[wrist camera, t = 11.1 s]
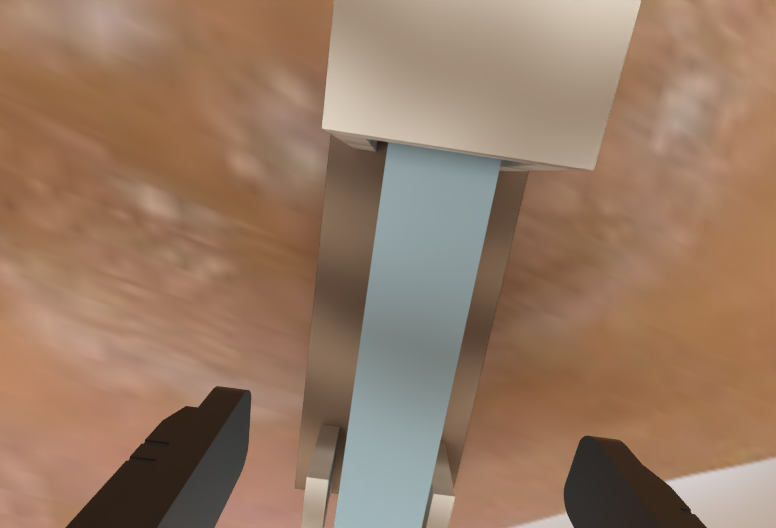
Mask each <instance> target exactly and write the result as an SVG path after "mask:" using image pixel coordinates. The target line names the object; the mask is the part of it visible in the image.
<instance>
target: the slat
mask: <svg viewBox="0 0 776 528" xmlns="http://www.w3.org/2000/svg"><path fill="white" fill-rule="evenodd" d="M501 161H502V159H496V158H489V157H483V156H476V155H470V154H463V153H457V152H450V151H444V150H437V149H431V148H424V147H418V146H411V145H405V144H398V143H392V142H388V147H387V154H386V162H385V169H384V176H383V183H382V190H381V197H380V204H379V211H378V218H377V225H376V233H375V240H374V247H373V254H372V261H371V268H370V275H369V282H368V289H367V296H366V304H365V311H364V318H363V325H362V332H361V339H360V346H359V353H358V360H357V367H356V375H355V382H354V389H353V396H352V403H351V410H350V417H349V424H348V431H347V438H346V446H345V453H344V460H343V467H342V474H341V481H340V488H339V495H338V502H337V509H336V516H335V524H334V528H422V523H423V519H424V514H425V510H426V505H427V500H428V496H429V491H430V487H431V482H432V478H433V473H434V468H435V464H436V459H437V455H438V450H439V445H440V441H441V436H442V432H443V427H444V422H445V418H446V413H447V409H448V404H449V399H450V395H451V390H452V386H453V381H454V376H455V372H456V367H457V363H458V358H459V353H460V349H461V344H462V340H463V335H464V330H465V326H466V321H467V317H468V312H469V308H470V303H471V298H472V294H473V289H474V285H475V280H476V275H477V271H478V266H479V262H480V257H481V252H482V248H483V243H484V239H485V234H486V229H487V225H488V220H489V216H490V211H491V206H492V202H493V197H494V193H495V188H496V183H497V179H498V174H499V170H500V165H501Z"/></svg>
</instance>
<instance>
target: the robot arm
mask: <svg viewBox="0 0 776 528" xmlns="http://www.w3.org/2000/svg"><path fill="white" fill-rule="evenodd" d="M250 410H251V392H250V391H249V390H242V389H235V388H227V387H220V386H217V387H215V388H214V389H213V390H212V391H211V392H210V394H209V395H208V396H207V397H206V398H205V400H204V401H203V402H202V403H201V405H200V406H199V407H198V408H197V407H189V406H186V407H184V408H182V409H181V410H179V411H177V412H176V413H174V414H173V415H171V416H169V417H168V418H166V419H164V420H163V421H162V422H161V423H160V424H159V425H158V426H157V427H156V428H155V430H154V431H153V432H152V433H151V434H150V435H149V436H148V437H147V438H146V439H145V443H144V444H141V445H140V446H139V447H138V448H137V449H136V450H135V452H134V453H133V454H132V455H131V456H130V459H129V461H126V462H125V463H124V464H123V465H122V466H121V467H120V468H119V469H118V470H117V471H116V473H115V474H114V475H113V476H112V477H111V478H110V479H109V480H108V481H107V482H106V484H105V485H104V486H103V487H102V488H101V489H100V490H99V491H98V492H97V494H96V495H95V496H94V497H93V498H92V499H91V500H90V501H89V502H88V503H87V505H86V506H85V507H84V508H83V509H82V510H81V511H80V512H79V513H78V514H77V516H76V517H75V518H74V519H73V520H72V521H71V522H70V523H69V524H68V526H67V527H66V528H214V527H215V525H216V523H217V521H218V519H219V517H220V515H221V513H222V511H223V509H224V507H225V505H226V503H227V501H228V499H229V497H230V495H231V493H232V491H233V488H234V486H235V484H236V482H237V480H238V478H239V476H240V474H241V472H242V469H243V466H244V463H245V460H246V456H247V451H248V444H249V427H250ZM564 503H565V508H566V511H567V514H568V517H569V519H570V521H571V523H572V525H573V526H574V528H707V527H706V526H705V525H704V524H703V523H702V522H701V521H700V520H699V518H698V517H697V516H696V515H695V514H692V513H691V510H690V508H689V507H688V506H687V505H686V504H685V503H684V501H682V499H681V498H680V497H679V496H678V495H677V494H676V492H675V491H674V490H673V489H672V488H671V487H670V486H669V485H668V484H666V483H665V482H664V481H663V480H661V479H660V478H659V477H658V476H656V475H655V474H654V473H652V472H651V471H650V470H649V469H647V468H646V467H645V466H643V465H642V464H641V462H640V461H639V460H638V459H637V458H636V457H635V455H634V454H633V453H632V452H631V451H630V450H629V448H628V447H627V446H626V445H625V444H624V443H623V442H621V441H620V440H616V439H608V438H600V437H593V436H584V437H583V438H582V439H581V440H580V442H579V445H578V448H577V451H576V454H575V457H574V460H573V463H572V466H571V469H570V472H569V475H568V477H567V480H566V483H565V487H564Z"/></svg>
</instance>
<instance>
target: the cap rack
mask: <svg viewBox="0 0 776 528" xmlns="http://www.w3.org/2000/svg"><path fill="white" fill-rule="evenodd" d="M640 4H641V0H334V7H333V17H332V28H331V38H330V49H329V59H328V70H327V80H326V91H325V101H324V112H323V122H322V129H323V130H325V131H327V132H328V133H330V134H331V136H330V146H329V156H328V165H327V175H326V185H325V195H324V205H323V215H322V224H321V234H320V244H319V254H318V264H317V274H316V284H315V293H314V303H313V313H312V323H311V333H310V343H309V352H308V362H307V372H306V382H305V392H304V402H303V411H302V421H301V431H300V441H299V451H298V461H297V471H296V480H295V488H296V489H303V490H305V496H304V505H303V514H302V523H301V528H324V526H325V520H326V515H327V510H328V505H329V500H330V495H331V493H334V494H339V488H340V481H341V474H342V467H343V460H344V453H345V446H346V438H347V431H348V424H349V417H350V410H351V403H352V396H353V389H354V382H355V375H356V367H357V360H358V353H359V346H360V339H361V332H362V325H363V318H364V311H365V304H366V296H367V289H368V282H369V275H370V268H371V261H372V254H373V247H374V240H375V233H376V225H377V218H378V211H379V204H380V197H381V190H382V183H383V176H384V169H385V162H386V154H387V147H388V142H392V143H398V144H405V145H411V146H418V147H424V148H431V149H437V150H444V151H450V152H457V153H463V154H470V155H476V156H483V157H489V158H496V159H502V161H501V165H500V170H499V174H498V179H497V183H496V188H495V193H494V197H493V202H492V206H491V211H490V216H489V220H488V225H487V229H486V234H485V239H484V243H483V248H482V252H481V257H480V262H479V266H478V271H477V275H476V280H475V285H474V289H473V294H472V298H471V303H470V308H469V312H468V317H467V321H466V326H465V330H464V335H463V340H462V344H461V349H460V353H459V358H458V363H457V367H456V372H455V376H454V381H453V386H452V390H451V395H450V399H449V404H448V409H447V413H446V418H445V422H444V427H443V432H442V436H441V441H440V445H439V450H438V455H437V459H436V464H435V468H434V473H433V478H432V482H431V487H430V491H429V496H428V500H427V505H426V510H425V514H424V519H423V523H422V528H448V525H449V521H450V517H451V512H452V508H453V504H454V500H455V493H454V485H455V481H456V477H457V473H458V468H459V464H460V460H461V456H462V452H463V447H464V443H465V439H466V435H467V430H468V426H469V422H470V418H471V413H472V409H473V405H474V401H475V396H476V392H477V388H478V384H479V380H480V375H481V371H482V367H483V363H484V358H485V354H486V350H487V346H488V341H489V337H490V333H491V329H492V325H493V320H494V316H495V312H496V308H497V303H498V299H499V295H500V291H501V286H502V282H503V278H504V274H505V270H506V265H507V261H508V257H509V253H510V248H511V244H512V240H513V236H514V231H515V227H516V223H517V219H518V215H519V210H520V206H521V202H522V198H523V193H524V189H525V185H526V181H527V176H528V172H529V171H581V170H594V168H595V164H596V161H597V157H598V154H599V150H600V147H601V143H602V139H603V136H604V132H605V129H606V125H607V122H608V118H609V114H610V111H611V107H612V104H613V100H614V97H615V93H616V89H617V86H618V82H619V79H620V75H621V71H622V68H623V64H624V61H625V57H626V54H627V50H628V46H629V43H630V39H631V36H632V32H633V29H634V25H635V21H636V18H637V14H638V11H639V7H640Z"/></svg>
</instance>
